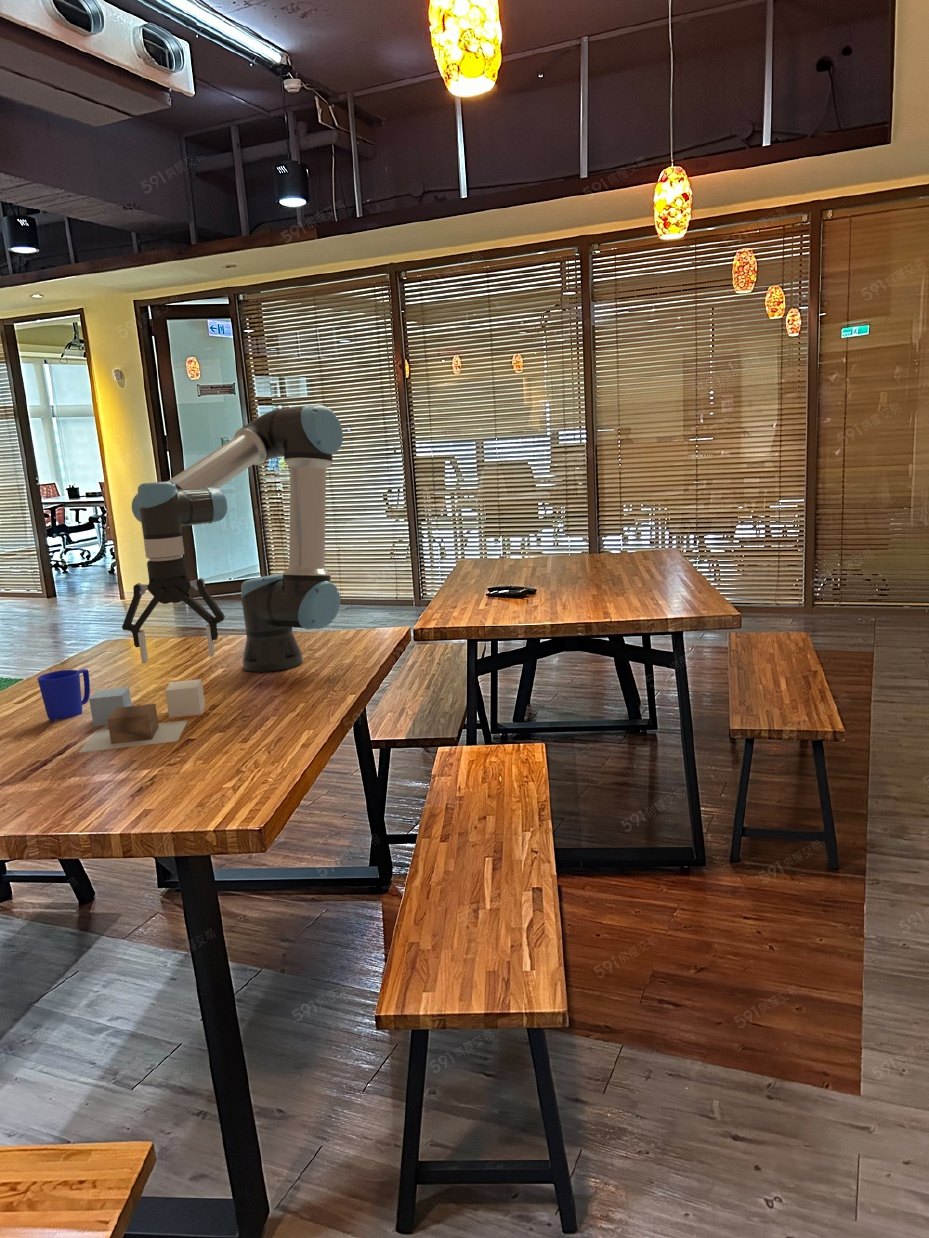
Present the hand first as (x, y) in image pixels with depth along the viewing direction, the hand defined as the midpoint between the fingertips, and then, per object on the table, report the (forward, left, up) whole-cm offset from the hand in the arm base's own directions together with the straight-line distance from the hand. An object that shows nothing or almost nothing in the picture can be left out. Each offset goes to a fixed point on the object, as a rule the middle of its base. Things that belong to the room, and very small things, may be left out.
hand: (178, 658), depth 179 cm
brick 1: (+15, 0, -13) cm, 19 cm away
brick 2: (0, 0, -13) cm, 13 cm away
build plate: (+8, +13, -13) cm, 20 cm away
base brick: (+8, +13, -12) cm, 19 cm away
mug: (+26, -10, -13) cm, 31 cm away
